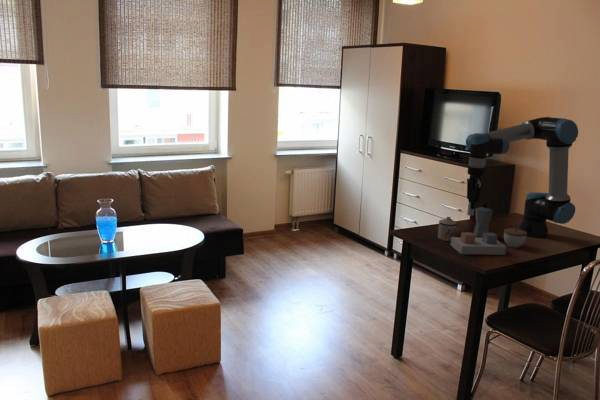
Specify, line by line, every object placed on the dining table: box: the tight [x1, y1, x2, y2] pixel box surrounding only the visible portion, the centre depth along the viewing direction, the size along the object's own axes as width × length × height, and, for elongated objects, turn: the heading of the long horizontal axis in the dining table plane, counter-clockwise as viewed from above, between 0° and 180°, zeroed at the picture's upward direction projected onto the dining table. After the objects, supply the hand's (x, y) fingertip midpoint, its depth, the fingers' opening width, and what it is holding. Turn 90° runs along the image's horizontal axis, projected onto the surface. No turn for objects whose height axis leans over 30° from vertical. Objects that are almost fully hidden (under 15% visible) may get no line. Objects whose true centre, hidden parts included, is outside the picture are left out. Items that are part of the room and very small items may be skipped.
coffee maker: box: [472, 202, 494, 238], centre depth 281 cm, size 15×9×18 cm, turn 20°
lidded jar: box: [503, 227, 527, 249], centre depth 265 cm, size 11×11×9 cm
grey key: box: [482, 232, 498, 244], centre depth 256 cm, size 5×5×4 cm
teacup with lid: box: [437, 216, 459, 242], centre depth 273 cm, size 12×9×12 cm
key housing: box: [450, 236, 508, 256], centre depth 257 cm, size 22×14×4 cm, turn 95°
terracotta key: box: [460, 231, 476, 244], centre depth 255 cm, size 5×5×4 cm
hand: (470, 214), depth 253 cm, fingers closed
